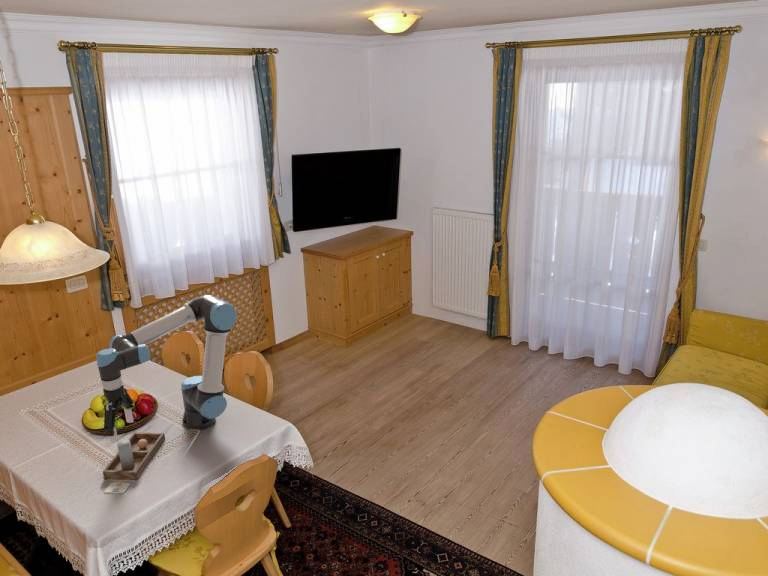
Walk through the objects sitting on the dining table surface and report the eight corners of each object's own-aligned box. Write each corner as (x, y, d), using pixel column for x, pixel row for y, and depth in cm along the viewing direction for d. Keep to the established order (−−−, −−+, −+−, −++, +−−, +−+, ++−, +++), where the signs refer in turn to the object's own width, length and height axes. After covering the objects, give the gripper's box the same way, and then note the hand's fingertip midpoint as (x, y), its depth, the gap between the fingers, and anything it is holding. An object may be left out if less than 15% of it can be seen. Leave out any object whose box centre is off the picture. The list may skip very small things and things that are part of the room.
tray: (165, 440, 265) (164, 433, 264) (137, 480, 239) (136, 472, 237) (135, 439, 266) (134, 432, 264) (104, 479, 240) (102, 471, 238)
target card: (130, 483, 237) (130, 482, 237) (123, 493, 231) (123, 492, 231) (111, 483, 237) (111, 482, 237) (103, 492, 232) (103, 491, 232)
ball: (149, 444, 260) (148, 437, 259) (145, 450, 257) (144, 442, 255) (140, 444, 261) (139, 437, 259) (136, 450, 257) (135, 442, 255)
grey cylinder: (136, 463, 248) (132, 439, 243) (131, 471, 243) (126, 447, 239) (125, 463, 248) (120, 439, 244) (119, 470, 243) (114, 446, 239)
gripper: (118, 371, 244) (127, 414, 252) (87, 403, 221) (98, 449, 228) (136, 371, 244) (144, 414, 251) (106, 403, 220) (116, 450, 228)
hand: (122, 431), depth 240 cm, fingers open, 13 cm apart
